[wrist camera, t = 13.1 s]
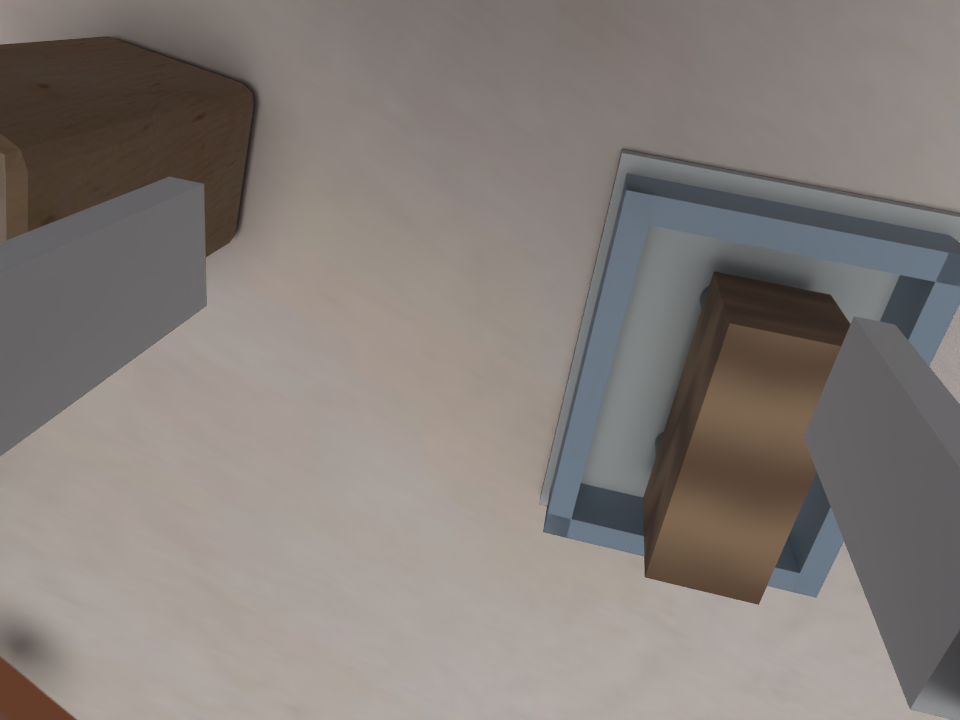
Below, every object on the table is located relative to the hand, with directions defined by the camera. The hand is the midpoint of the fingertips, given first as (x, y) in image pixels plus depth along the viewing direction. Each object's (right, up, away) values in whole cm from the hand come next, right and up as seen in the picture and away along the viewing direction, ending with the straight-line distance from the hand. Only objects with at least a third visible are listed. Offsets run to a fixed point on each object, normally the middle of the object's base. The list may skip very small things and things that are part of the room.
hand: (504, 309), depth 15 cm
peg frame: (+14, -2, +30) cm, 34 cm away
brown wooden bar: (+14, -4, +27) cm, 30 cm away
